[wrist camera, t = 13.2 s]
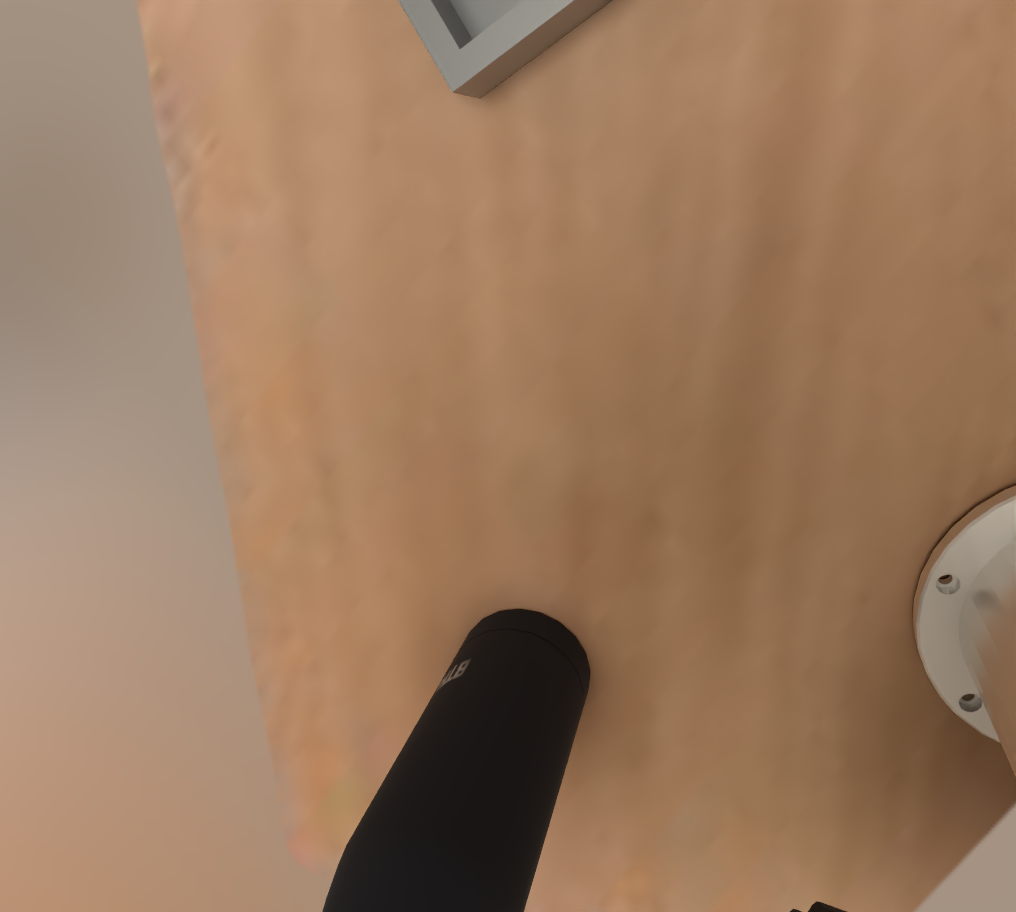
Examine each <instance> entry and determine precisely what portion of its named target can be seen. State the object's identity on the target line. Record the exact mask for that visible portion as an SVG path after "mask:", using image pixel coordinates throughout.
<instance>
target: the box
mask: <svg viewBox="0 0 1016 912" xmlns="http://www.w3.org/2000/svg"><path fill="white" fill-rule="evenodd" d="M398 1H399V2H400V4H401V6H402V7H403V9H404V11H405V13H406V14H407V16H408V18H409V19H410V21H411V23H412V24H413V26H414V28H415V30H416V31H417V33H418V35H419V36H420V38H421V40H422V41H423V43H424V45H425V47H426V48H427V50H428V52H429V53H430V55H431V57H432V59H433V60H434V62H435V64H436V65H437V67H438V69H439V70H440V72H441V74H442V76H443V77H444V79H445V81H446V82H447V84H448V86H449V87H450V89H451V91H452V92H453V93H458V94H462V95H467V96H471V97H476V98H481V97H482V96H484V95H485V94H486V93H488V92H489V91H490V90H492V89H493V88H495V87H496V86H497V85H499V84H500V83H501V82H503V81H504V80H505V79H507V78H508V77H509V76H511V75H512V74H513V73H515V72H516V71H517V70H519V69H520V68H522V67H523V66H524V65H526V64H527V63H528V62H530V61H531V60H532V59H534V58H535V57H536V56H538V55H539V54H540V53H542V52H543V51H544V50H546V49H547V48H548V47H550V46H551V45H553V44H554V43H555V42H557V41H558V40H559V39H561V38H562V37H563V36H565V35H566V34H567V33H569V32H570V31H571V30H573V29H574V28H575V27H577V26H578V25H580V24H581V23H582V22H584V21H585V20H586V19H588V18H589V17H590V16H592V15H593V14H594V13H596V12H597V11H598V10H600V9H601V8H602V7H604V6H605V5H607V4H608V3H609V2H611V1H612V0H398Z"/></svg>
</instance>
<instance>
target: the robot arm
mask: <svg viewBox="0 0 1016 912" xmlns="http://www.w3.org/2000/svg"><path fill="white" fill-rule="evenodd" d="M946 574H947V575H950V576H949V577H948V578H946V579H939V578H940V577H941V576H944V575H946ZM913 629H914V634H915V639H916V644H917V649H918V652H919V655H920V658H921V660H922V663H923V665H924V668H925V671H926V674H927V675H928V677H929V679H930V680H931V682H932V684H933V686H934V687H935V689H936V691H937V692H938V694H939V696H940V697H941V698H942V699H943V700H944V702H945V703H946V704H947V705H948V706H949V707H950V708H951V710H952V711H953V712H954V713H955V714H956V715H957V716H958V717H960V718H961V719H962V720H964V721H965V722H966V723H968V724H969V725H970V726H972V727H973V728H974V729H976V730H977V731H978V732H980V733H981V734H983V735H985V736H987V737H989V738H991V739H993V740H995V741H997V742H999V743H1001V745H1002V747H1003V749H1004V752H1005V754H1006V756H1007V758H1008V761H1009V763H1010V765H1011V768H1012V770H1013V772H1014V774H1015V777H1016V486H1013V487H1010V488H1008V489H1005V490H1003V491H1002V492H1000V493H998V494H997V495H995V496H993V497H992V498H990V499H988V500H986V501H985V502H983V503H981V504H980V505H978V506H976V507H975V508H974V509H973V510H972V511H970V512H969V513H968V514H967V515H966V516H964V517H963V518H962V519H961V520H960V521H959V522H957V523H956V524H955V525H954V526H953V527H952V528H951V529H950V530H949V531H948V533H947V534H946V535H945V536H944V538H943V539H942V540H941V541H940V543H939V544H938V545H937V546H936V547H935V549H934V550H933V552H932V554H931V556H930V558H929V560H928V561H927V563H926V565H925V567H924V569H923V571H922V573H921V575H920V579H919V583H918V586H917V590H916V594H915V597H914V607H913ZM966 694H967V695H966ZM790 912H801V911H799V910H796V909H792V910H791V911H790ZM808 912H846V911H843V910H841V909H838V908H835V907H832V906H830V905H827V904H824V903H821V902H815V903H814V904H813V905H812V906H811V908H810V910H809V911H808Z"/></svg>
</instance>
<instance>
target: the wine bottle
mask: <svg viewBox="0 0 1016 912" xmlns="http://www.w3.org/2000/svg"><path fill="white" fill-rule="evenodd" d="M589 679H590V669H589V665H588V661H587V657H586V653H585V652H584V650H583V649H582V647H581V645H580V644H579V642H578V641H577V639H576V637H575V636H574V635H573V634H572V633H570V632H569V631H568V630H567V629H566V628H565V627H564V626H563V625H561V624H560V623H559V622H557V621H555V620H553V619H551V618H549V617H547V616H545V615H543V614H541V613H537V612H532V611H526V610H521V609H517V610H507V611H499V612H497V613H495V614H493V615H490V616H488V617H486V618H484V619H482V620H481V621H480V622H479V623H478V624H477V625H476V626H475V627H474V628H473V629H472V630H471V631H470V632H469V634H468V636H467V638H466V639H465V641H464V643H463V644H462V646H461V648H460V650H459V652H458V653H457V655H456V657H455V658H454V660H453V662H452V663H451V665H450V667H449V669H448V670H447V672H446V674H445V676H444V677H443V679H442V681H441V683H440V684H439V686H438V688H437V689H436V691H435V693H434V695H433V696H432V698H431V700H430V702H429V703H428V705H427V707H426V709H425V710H424V712H423V714H422V715H421V717H420V719H419V721H418V722H417V724H416V726H415V728H414V729H413V731H412V733H411V735H410V736H409V738H408V740H407V741H406V743H405V745H404V747H403V748H402V750H401V752H400V754H399V755H398V757H397V759H396V761H395V762H394V764H393V766H392V767H391V769H390V771H389V773H388V774H387V776H386V778H385V780H384V781H383V783H382V785H381V787H380V788H379V790H378V792H377V793H376V795H375V797H374V799H373V800H372V802H371V804H370V806H369V807H368V809H367V811H366V813H365V814H364V816H363V818H362V819H361V821H360V823H359V825H358V826H357V828H356V830H355V832H354V833H353V835H352V837H351V838H350V840H349V842H348V844H347V845H346V848H345V850H344V853H343V855H342V857H341V860H340V862H339V864H338V867H337V870H336V873H335V875H334V878H333V881H332V884H331V887H330V890H329V892H328V895H327V898H326V902H325V905H324V908H323V912H524V909H525V906H526V902H527V899H528V895H529V892H530V889H531V885H532V882H533V878H534V875H535V871H536V868H537V865H538V861H539V858H540V854H541V851H542V847H543V844H544V841H545V837H546V834H547V830H548V827H549V823H550V820H551V817H552V813H553V810H554V806H555V803H556V799H557V796H558V793H559V789H560V786H561V782H562V779H563V775H564V772H565V768H566V765H567V762H568V758H569V755H570V751H571V748H572V744H573V741H574V738H575V734H576V731H577V727H578V724H579V720H580V717H581V714H582V710H583V707H584V703H585V700H586V696H587V693H588V688H589Z"/></svg>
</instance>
